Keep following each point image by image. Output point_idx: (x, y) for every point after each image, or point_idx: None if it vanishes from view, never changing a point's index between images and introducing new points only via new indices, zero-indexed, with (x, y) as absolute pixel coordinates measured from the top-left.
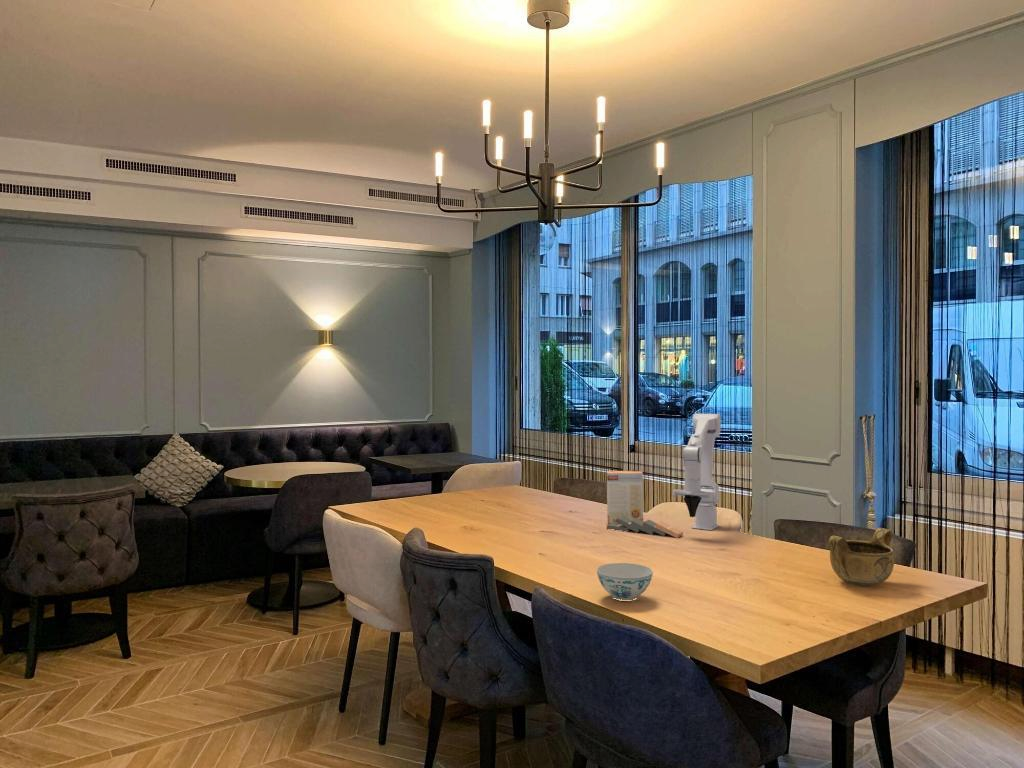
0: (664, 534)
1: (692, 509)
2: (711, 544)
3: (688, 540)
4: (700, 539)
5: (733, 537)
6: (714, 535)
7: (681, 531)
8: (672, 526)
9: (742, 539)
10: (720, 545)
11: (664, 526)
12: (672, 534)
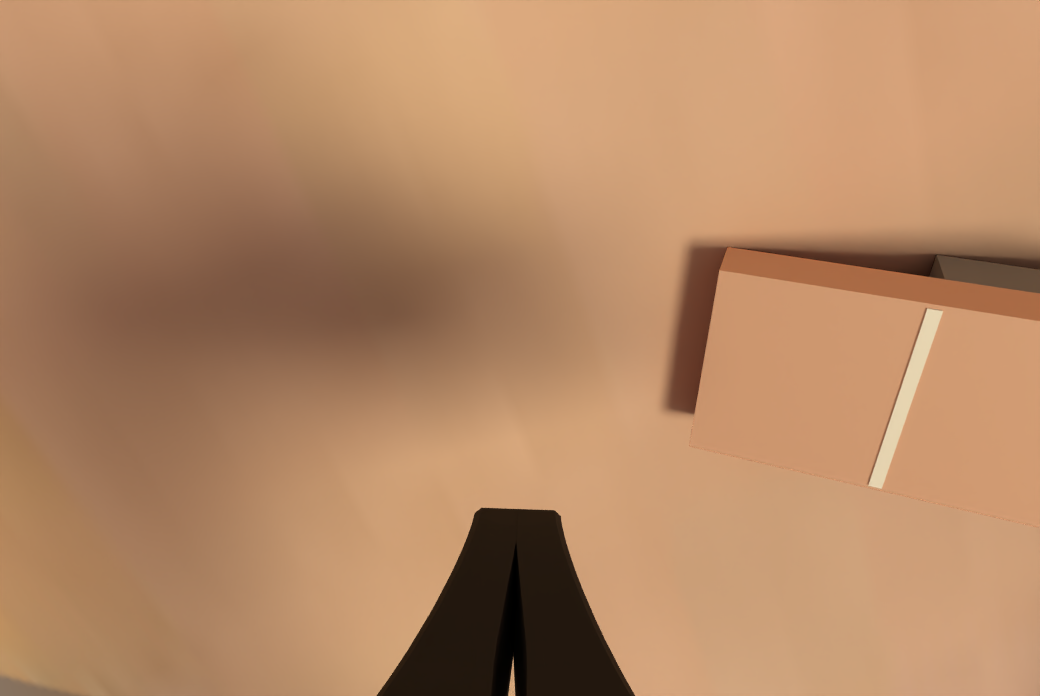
0: (938, 270)
1: (468, 630)
2: (145, 108)
3: (533, 188)
4: (412, 326)
5: (155, 572)
6: (362, 569)
7: (711, 427)
8: (872, 484)
9: (30, 536)
10: (13, 114)
11: (1005, 362)
12: (812, 266)
